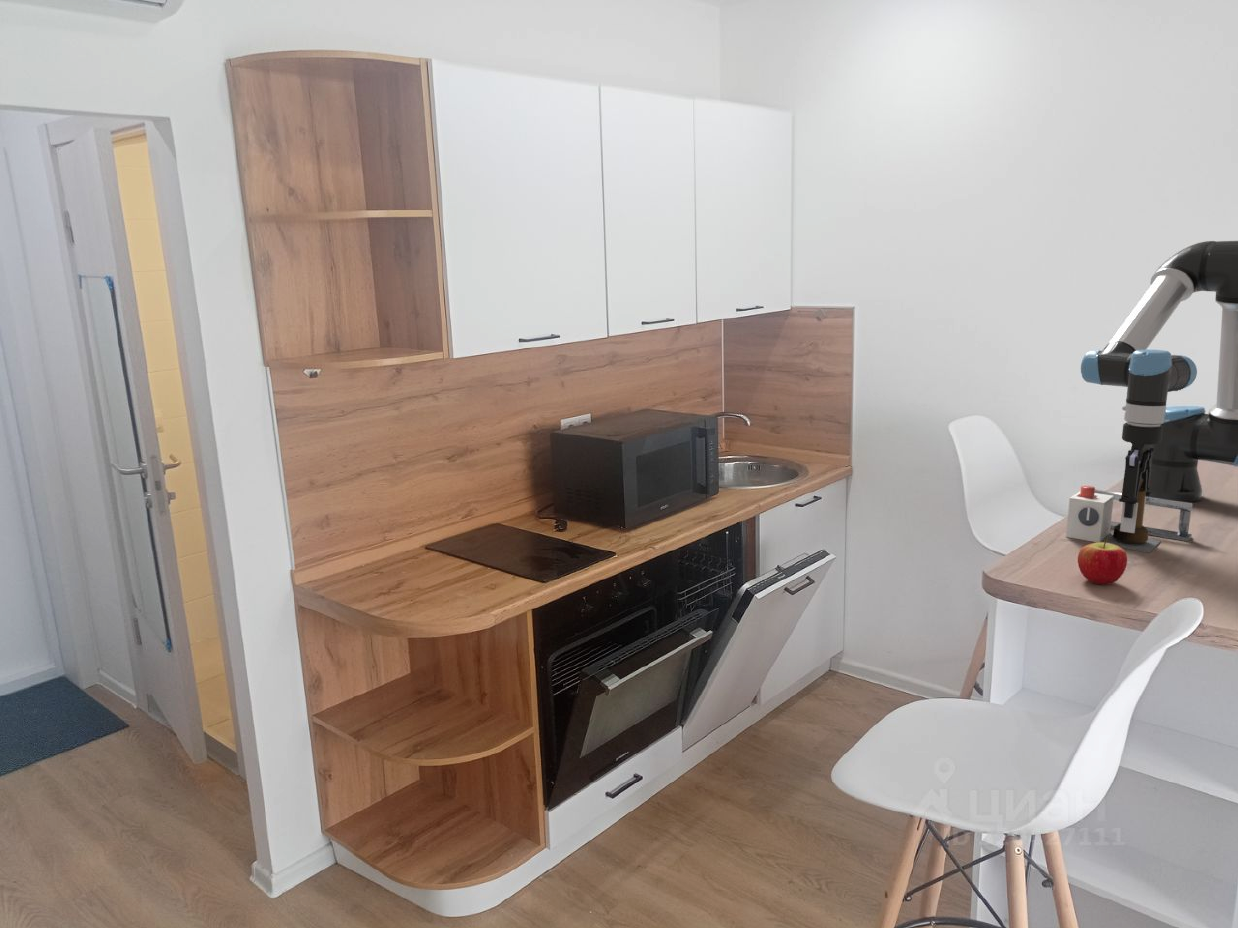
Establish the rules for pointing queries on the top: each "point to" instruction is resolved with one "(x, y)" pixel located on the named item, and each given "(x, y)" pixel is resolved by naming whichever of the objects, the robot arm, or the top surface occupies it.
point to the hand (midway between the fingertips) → (1131, 527)
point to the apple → (1102, 562)
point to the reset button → (1087, 492)
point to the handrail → (1182, 506)
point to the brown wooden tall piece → (1140, 530)
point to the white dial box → (1089, 517)
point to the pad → (1132, 544)
